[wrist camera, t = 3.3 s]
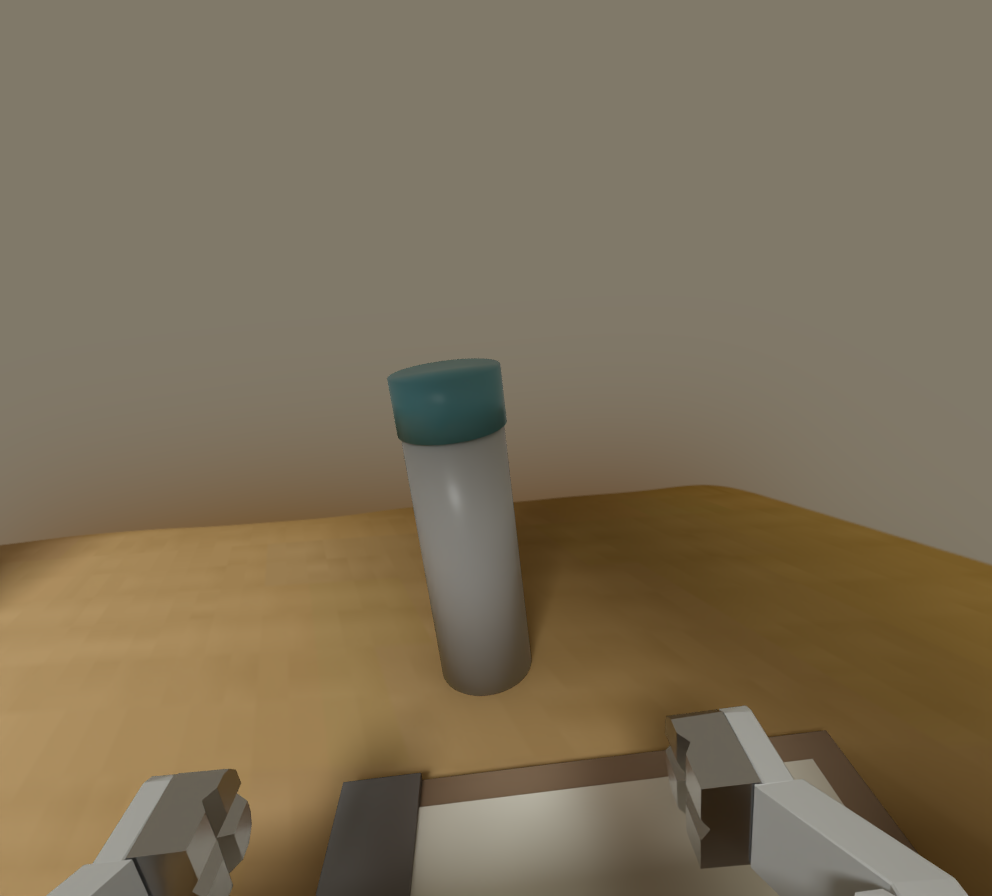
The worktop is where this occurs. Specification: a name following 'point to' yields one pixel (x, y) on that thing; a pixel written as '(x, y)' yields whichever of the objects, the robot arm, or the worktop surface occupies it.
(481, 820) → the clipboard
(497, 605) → the water bottle
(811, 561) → the worktop surface
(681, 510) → the worktop surface
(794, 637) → the worktop surface
